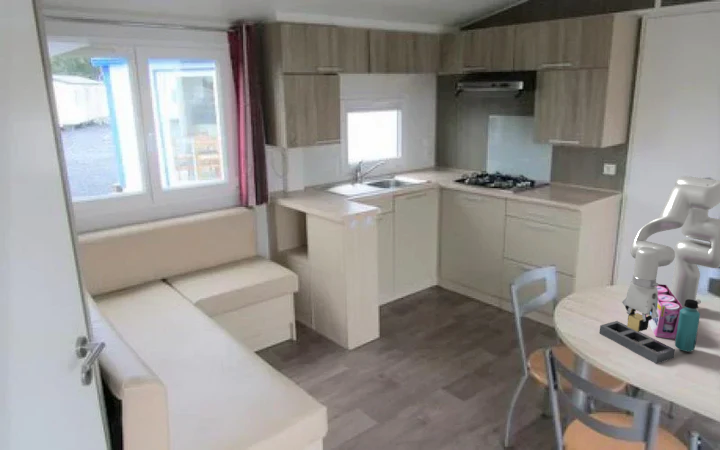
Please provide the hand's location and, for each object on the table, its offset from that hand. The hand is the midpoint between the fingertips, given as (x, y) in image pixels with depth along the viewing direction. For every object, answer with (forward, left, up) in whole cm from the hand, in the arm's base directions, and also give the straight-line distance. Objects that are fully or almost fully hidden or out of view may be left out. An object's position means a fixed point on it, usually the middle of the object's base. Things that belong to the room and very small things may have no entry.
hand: (637, 326), depth 195 cm
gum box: (-23, -7, -8) cm, 25 cm away
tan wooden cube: (0, 0, -1) cm, 1 cm away
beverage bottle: (-13, +10, -8) cm, 18 cm away
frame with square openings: (0, 0, -8) cm, 8 cm away
